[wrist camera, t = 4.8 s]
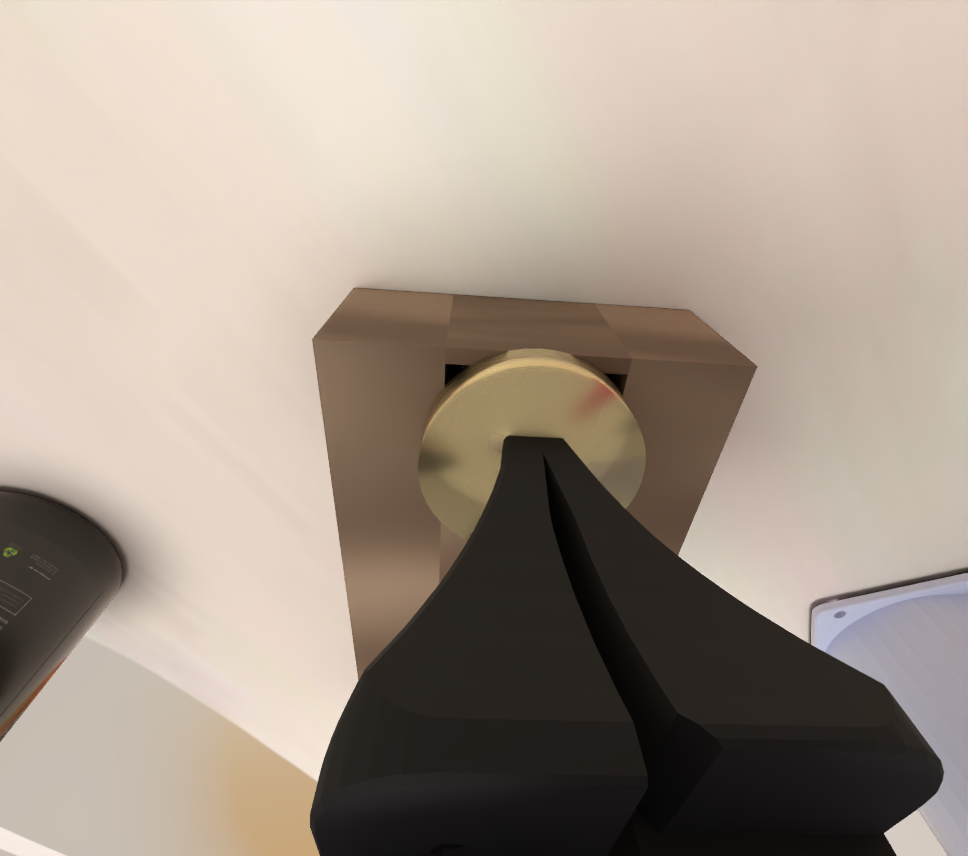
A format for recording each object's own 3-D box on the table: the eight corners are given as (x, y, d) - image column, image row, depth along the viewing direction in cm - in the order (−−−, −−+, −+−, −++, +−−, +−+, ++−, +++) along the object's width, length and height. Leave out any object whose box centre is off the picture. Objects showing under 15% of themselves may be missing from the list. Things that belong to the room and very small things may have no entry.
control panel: (354, 287, 13) (312, 339, 10) (689, 310, 14) (757, 366, 11) (387, 712, 26) (374, 798, 23) (562, 717, 27) (574, 801, 23)
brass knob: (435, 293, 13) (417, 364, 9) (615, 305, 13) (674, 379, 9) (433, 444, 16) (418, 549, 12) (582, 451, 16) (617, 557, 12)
